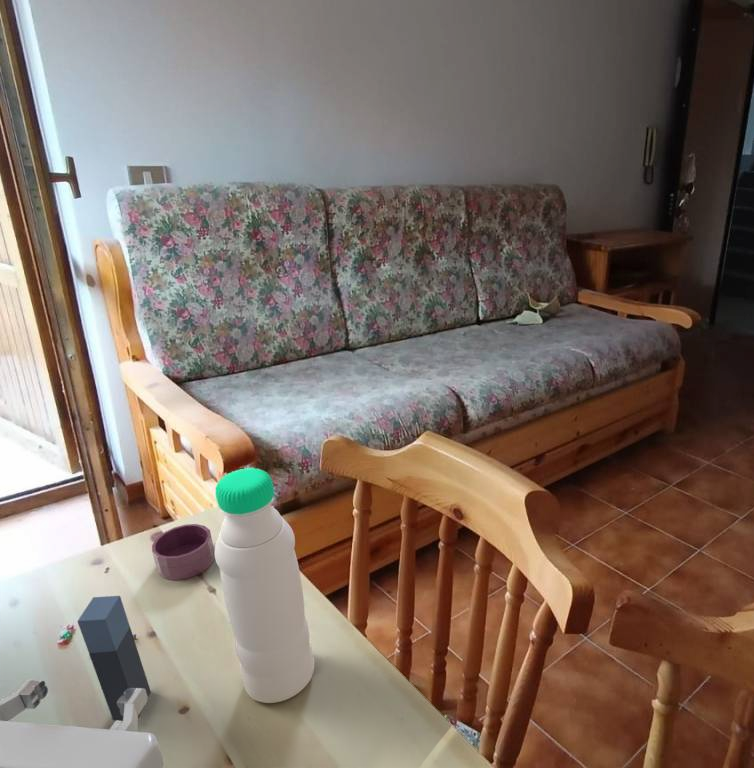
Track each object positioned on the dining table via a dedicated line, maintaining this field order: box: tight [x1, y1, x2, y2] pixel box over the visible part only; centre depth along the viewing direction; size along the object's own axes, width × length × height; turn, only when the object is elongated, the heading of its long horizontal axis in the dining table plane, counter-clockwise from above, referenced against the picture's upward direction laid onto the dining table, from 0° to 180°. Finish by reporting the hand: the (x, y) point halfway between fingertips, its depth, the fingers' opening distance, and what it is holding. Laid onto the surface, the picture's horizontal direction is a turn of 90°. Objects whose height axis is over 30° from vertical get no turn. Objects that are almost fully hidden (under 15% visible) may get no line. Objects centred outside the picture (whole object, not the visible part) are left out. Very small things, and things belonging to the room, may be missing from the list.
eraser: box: [77, 595, 152, 721], centre depth 60 cm, size 2×3×13 cm
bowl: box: [151, 523, 216, 581], centre depth 82 cm, size 7×7×4 cm
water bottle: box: [214, 467, 315, 704], centre depth 61 cm, size 7×7×25 cm
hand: (88, 688), depth 57 cm, fingers open, 8 cm apart
